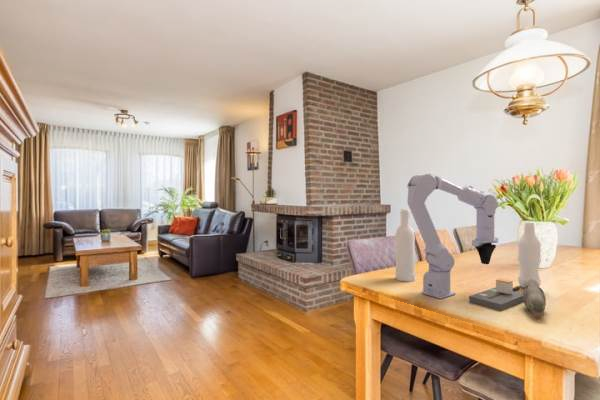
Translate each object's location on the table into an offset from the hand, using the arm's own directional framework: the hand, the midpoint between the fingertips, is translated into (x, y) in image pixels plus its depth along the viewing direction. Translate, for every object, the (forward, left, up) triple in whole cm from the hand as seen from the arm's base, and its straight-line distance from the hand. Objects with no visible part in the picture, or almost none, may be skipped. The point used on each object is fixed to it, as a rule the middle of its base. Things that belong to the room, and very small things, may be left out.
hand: (485, 263), depth 119 cm
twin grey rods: (+8, -8, -10) cm, 15 cm away
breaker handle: (-3, -8, -8) cm, 11 cm away
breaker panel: (-7, -8, -10) cm, 15 cm away
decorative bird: (-7, -18, -11) cm, 22 cm away
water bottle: (+19, -7, -11) cm, 23 cm away
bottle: (-10, +28, -11) cm, 32 cm away
